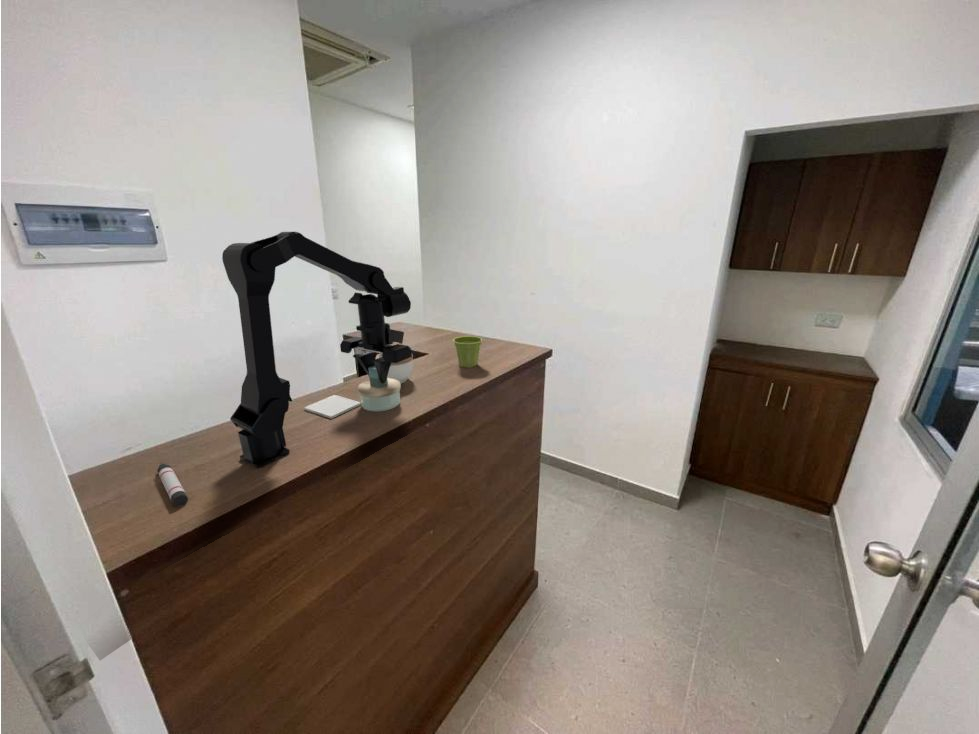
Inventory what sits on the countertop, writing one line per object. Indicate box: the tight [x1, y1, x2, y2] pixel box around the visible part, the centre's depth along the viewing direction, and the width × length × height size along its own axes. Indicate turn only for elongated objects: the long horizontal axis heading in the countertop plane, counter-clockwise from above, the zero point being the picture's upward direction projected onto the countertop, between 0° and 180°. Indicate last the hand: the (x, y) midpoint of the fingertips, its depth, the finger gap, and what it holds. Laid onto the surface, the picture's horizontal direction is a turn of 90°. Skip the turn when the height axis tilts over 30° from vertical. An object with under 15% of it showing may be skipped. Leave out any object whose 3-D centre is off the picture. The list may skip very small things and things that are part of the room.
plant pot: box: [452, 335, 483, 369], centre depth 124 cm, size 9×9×9 cm
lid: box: [357, 365, 402, 398], centre depth 95 cm, size 10×10×6 cm
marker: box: [157, 462, 189, 507], centre depth 66 cm, size 15×2×2 cm, turn 48°
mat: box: [303, 394, 362, 420], centre depth 96 cm, size 9×10×1 cm
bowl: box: [359, 390, 401, 413], centre depth 97 cm, size 9×9×4 cm
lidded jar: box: [375, 353, 414, 385], centre depth 111 cm, size 11×11×9 cm
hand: (378, 381), depth 96 cm, fingers closed on lid, 3 cm apart
